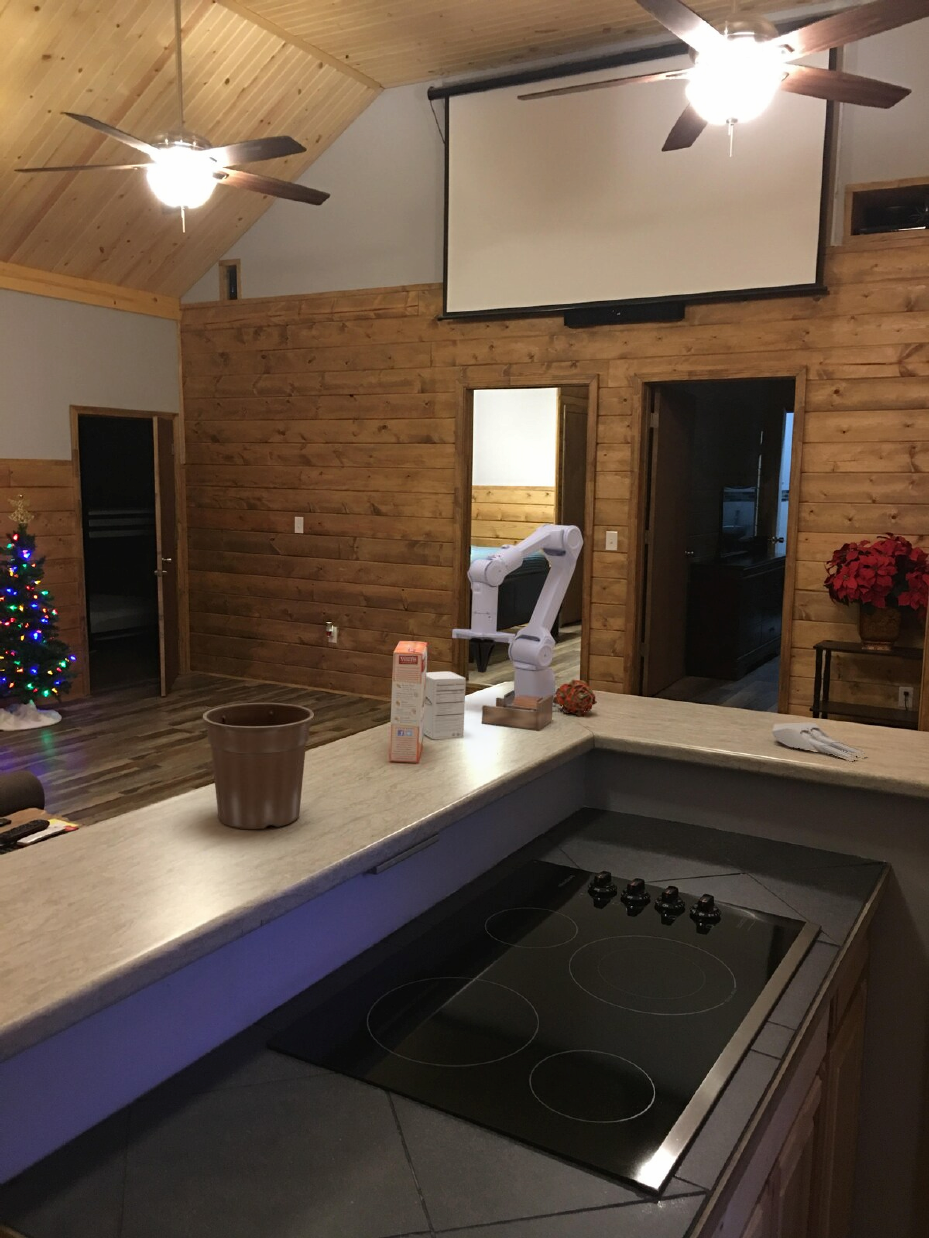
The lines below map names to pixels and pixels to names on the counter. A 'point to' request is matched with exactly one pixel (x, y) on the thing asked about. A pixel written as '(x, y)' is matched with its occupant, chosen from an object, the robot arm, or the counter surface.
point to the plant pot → (258, 762)
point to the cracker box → (408, 701)
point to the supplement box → (444, 705)
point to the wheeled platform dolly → (521, 701)
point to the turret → (811, 739)
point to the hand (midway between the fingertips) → (482, 671)
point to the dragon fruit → (575, 697)
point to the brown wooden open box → (519, 715)
